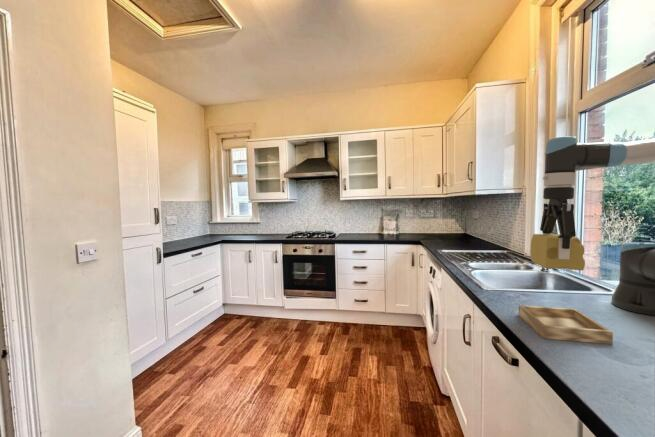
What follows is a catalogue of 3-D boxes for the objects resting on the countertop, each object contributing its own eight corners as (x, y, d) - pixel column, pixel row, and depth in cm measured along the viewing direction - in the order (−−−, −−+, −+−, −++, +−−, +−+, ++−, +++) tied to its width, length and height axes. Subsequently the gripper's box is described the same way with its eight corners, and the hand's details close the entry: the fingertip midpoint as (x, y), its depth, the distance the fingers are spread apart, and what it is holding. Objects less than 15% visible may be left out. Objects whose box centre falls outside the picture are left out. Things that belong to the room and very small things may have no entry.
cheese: (584, 271, 84) (587, 238, 83) (543, 268, 87) (545, 237, 86) (565, 262, 94) (567, 233, 93) (528, 261, 97) (530, 233, 96)
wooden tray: (575, 318, 89) (575, 308, 89) (612, 344, 74) (612, 332, 74) (518, 314, 93) (518, 305, 93) (542, 338, 78) (542, 326, 78)
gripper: (530, 188, 101) (527, 249, 102) (562, 185, 79) (558, 262, 81) (555, 188, 98) (552, 250, 100) (595, 185, 77) (590, 264, 78)
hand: (555, 255), depth 90 cm, fingers closed on cheese, 10 cm apart
